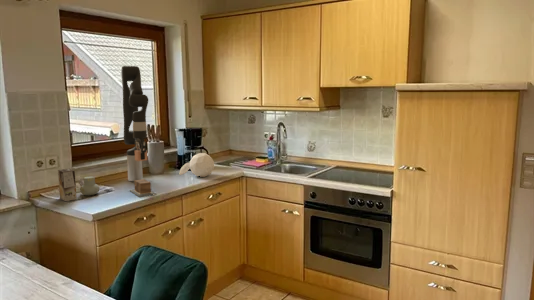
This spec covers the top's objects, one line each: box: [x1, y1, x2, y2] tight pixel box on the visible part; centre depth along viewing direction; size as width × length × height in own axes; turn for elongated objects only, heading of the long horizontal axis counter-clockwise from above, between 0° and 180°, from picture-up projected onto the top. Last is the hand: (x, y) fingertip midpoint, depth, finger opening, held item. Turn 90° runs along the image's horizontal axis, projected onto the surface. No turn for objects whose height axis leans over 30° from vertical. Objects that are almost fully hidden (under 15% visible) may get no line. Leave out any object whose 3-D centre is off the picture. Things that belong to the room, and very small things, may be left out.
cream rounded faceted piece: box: [178, 152, 215, 178], centre depth 283 cm, size 16×22×28 cm
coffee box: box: [57, 168, 77, 202], centre depth 222 cm, size 9×6×16 cm
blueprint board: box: [129, 188, 157, 198], centre depth 236 cm, size 17×10×1 cm, turn 35°
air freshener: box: [79, 176, 100, 196], centre depth 232 cm, size 11×8×10 cm
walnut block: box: [133, 178, 152, 194], centre depth 236 cm, size 10×6×6 cm, turn 37°
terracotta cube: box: [135, 150, 148, 162], centre depth 233 cm, size 6×6×6 cm
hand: (141, 158), depth 233 cm, fingers closed on terracotta cube, 5 cm apart
